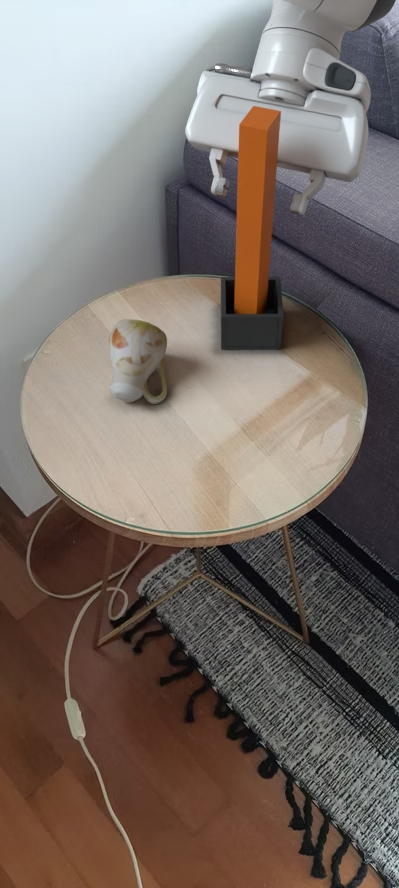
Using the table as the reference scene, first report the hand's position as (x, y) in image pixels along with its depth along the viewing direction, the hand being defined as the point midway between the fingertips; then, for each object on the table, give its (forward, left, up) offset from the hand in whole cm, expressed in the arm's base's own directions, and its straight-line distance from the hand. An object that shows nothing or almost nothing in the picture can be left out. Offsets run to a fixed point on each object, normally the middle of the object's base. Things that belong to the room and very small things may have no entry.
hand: (256, 203), depth 78 cm
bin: (0, +1, -18) cm, 18 cm away
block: (0, +1, -18) cm, 18 cm away
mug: (+11, +14, -18) cm, 25 cm away
